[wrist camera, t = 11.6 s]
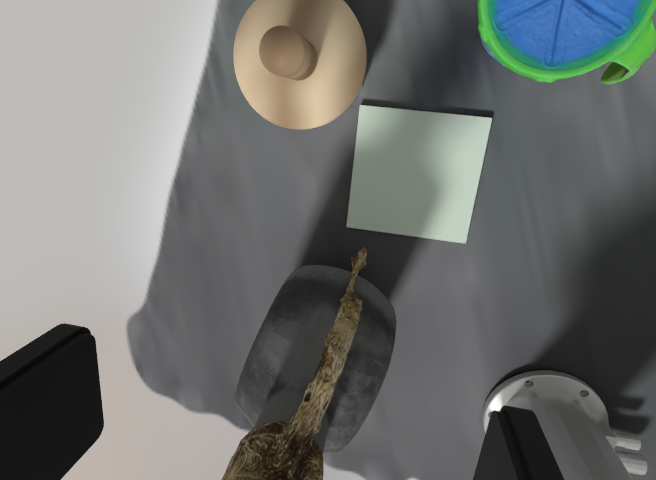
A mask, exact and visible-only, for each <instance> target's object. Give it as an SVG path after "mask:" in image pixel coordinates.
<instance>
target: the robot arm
mask: <svg viewBox="0 0 656 480" xmlns="http://www.w3.org/2000/svg"><path fill="white" fill-rule="evenodd" d="M482 421H483V427H484V431H485V438H484V442H483V445H482V449H481V453H480V456H479V460H478V464H477V467H476V471H475V475H474V478H473V480H633V479H632V477H631V475H630V474H629V473H634V474H639V475H645V473H646V472H647V462H646V460H645V458H644V457H643V456H642V455H640V454H635V453H630V452H625V451H615V450H614V448H615V446H620V447H623V448H627V449H632V450H639V449H640V448H641V441H640V439H639V437H637V436H635V435H629V434H620V433H615V431H614V430H612V429H611V428H610V426H609V423H608V414H607V411H606V408H605V405H604V404H603V402H602V401H601V399H600V398H599V396H598V395H597V394H596V392H595V391H594V390H593V389H592V388H591V387H590V386H589V385H587V384H586V383H585V382H584V381H582V380H580V379H578V378H576V377H574V376H572V375H569V374H566V373H563V372H557V371H549V370H538V371H530V372H525V373H522V374H519V375H516V376H513V377H511V378H509V379H507V380H505V381H504V382H503V383H501V384H500V385H499V386H497V387H496V388H495V389H494V390H493V392H492V393H491V394H490V395H489V397H488V399H487V400H486V402H485V405H484V408H483V415H482ZM103 426H104V420H103V411H102V400H101V391H100V381H99V371H98V362H97V352H96V342H95V338H94V336H92V335H91V333H90V331H89V329H88V328H85V327H80V326H75V325H70V324H60V325H58V326H56V327H54V328H53V329H51V330H50V331H48V332H46V333H45V334H43V335H42V336H40V337H38V338H37V339H35V340H34V341H32V342H30V343H29V344H27V345H26V346H24V347H22V348H21V349H19V350H18V351H16V352H15V353H13V354H11V355H10V356H8V357H7V358H5V359H3V360H2V361H0V480H61V478H62V477H63V476H64V475H65V474H66V473H67V472H68V471H69V470H70V469H71V468H72V467H73V465H74V464H75V463H76V462H77V461H78V460H79V459H80V458H81V457H82V456H83V455H84V453H85V452H86V451H87V450H88V449H89V448H90V447H91V446H92V445H93V444H94V443H95V441H96V440H97V439H98V438H99V436H100V435H101V432H102V430H103Z"/></svg>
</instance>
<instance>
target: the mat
mask: <svg viewBox="0 0 656 480" xmlns="http://www.w3.org/2000/svg"><path fill="white" fill-rule="evenodd" d="M491 122H492V118H488V117H477V116H467V115H457V114H447V113H436V112H426V111H416V110H406V109H396V108H385V107H375V106H365V105H360V110H359V118H358V127H357V136H356V145H355V154H354V163H353V172H352V181H351V190H350V199H349V208H348V216H347V225H346V227H349V228H356V229H363V230H371V231H378V232H385V233H392V234H400V235H407V236H414V237H421V238H429V239H436V240H443V241H451V242H458V243H465V244H466V240H467V235H468V230H469V226H470V221H471V216H472V212H473V207H474V202H475V197H476V193H477V188H478V183H479V179H480V174H481V169H482V165H483V160H484V155H485V151H486V146H487V141H488V136H489V132H490V127H491Z"/></svg>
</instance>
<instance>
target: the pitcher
mask: <svg viewBox="0 0 656 480" xmlns="http://www.w3.org/2000/svg"><path fill="white" fill-rule="evenodd" d="M366 256H367V251H366V247H364V248H363V249H362V250H360V251H359V253H358V254H357V256H356V257H355V258H351V263H352V272H349V271H347V270H344V269H341V268H338V267H331V266H325V265H305V266H302V267H300V268H297V269H296V270H295V271H294V272H293V273H292V274H291V275H290V276H289V277H288V278H287V279H286V281H285V282H284V284H283V286H282V287H281V289H280V291H279V293H278V294H277V296H276V298H275V300H274V302H273V304H272V305H271V307H270V310H269V312H268V314H267V316H266V318H265V320H264V322H263V324H262V326H261V328H260V330H259V332H258V334H257V337H256V339H255V341H254V343H253V346H252V348H251V350H250V353H249V355H248V358H247V360H246V362H245V365H244V368H243V370H242V373H241V376H240V379H239V382H238V385H237V389H236V393H235V398H236V405H237V407H238V408H239V409H240V410H241V411H242V413H243V414H244V415H245V416H246V418H247V419H248V420H249V421H250V423H251V424H252V425H253V426H254V428H253V429H252V430H251V431H250V432H249V433H248V434H247V435H246V436H245V437H244V438H243V439H242V440H241V441H240V443H239V446H238V448H237V450H236V452H235V453H234V455H233V456H232V458H231V460H230V462H229V465H228V467H227V470H226V472H225V474H224V476H223V478H222V480H323V452H338V451H340V450H342V449H343V448H344V447H345V446H346V445H347V444H348V443H349V442H350V441H351V440H352V439H353V438H354V436H355V435H356V433H357V432H358V431H359V429H360V427H361V426H362V424H363V423H364V421H365V419H366V417H367V415H368V414H369V412H370V410H371V408H372V406H373V404H374V402H375V399H376V397H377V395H378V393H379V391H380V388H381V386H382V383H383V381H384V378H385V376H386V373H387V370H388V367H389V364H390V360H391V356H392V352H393V347H394V341H395V331H396V315H395V311H394V308H393V306H392V304H391V303H390V302H389V301H388V299H387V298H386V297H385V296H384V295H383V294H382V292H381V291H380V290H378V289H377V288H376V287H375V286H373V285H372V284H371V283H370V282H368V281H367V280H365V279H363V278H362V277H360V276H358V273H359V271H360V270H361V269H362V268H363V267H366V266H367V262H366Z"/></svg>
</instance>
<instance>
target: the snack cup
mask: <svg viewBox="0 0 656 480" xmlns="http://www.w3.org/2000/svg"><path fill="white" fill-rule="evenodd" d="M655 8H656V0H478V19H479V25H478V29H479V32H480V37H481V42H482V44H483V47H484V48H485V50H486V51H487V52H488V54H489V55H490V56H491V57H492V58H493V59H494V60H496V61H497V62H498V63H500V64H501V65H503V66H506V67H507V68H509V69H510V70H512V71H514V72H516V73H518V74H520V75H523V76H526V77H530V78H533V79H534V80H536V81H539V82H554V81H556V80H558V79H565V78H570V77H574V76H577V75H581V74H584V73H587V72H589V71H591V70H594V69H596V68H598V67H600V66H602V65H604V64H605V63H607V62H612V63H611V64H610V65H609V67H608V68H607V69H606V71H605V72H604V74H603V76H602V78H601V81H602V82H603V83H604V84H614V83H617V82H621V81H623V80H625V79H627V78H629V77H631V76H632V75H633V74H634V73H635V72H636V71H637V70H638V69H639V68H640V66H641V65H642V64H643V63H644V62H645V61H646V60H647V59H648V58H649V57H650V56H651V54H652V53H653V51H654V50H655V47H656V30H655V27H654V24H653V19H652V14H653V12H654V10H655Z"/></svg>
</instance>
